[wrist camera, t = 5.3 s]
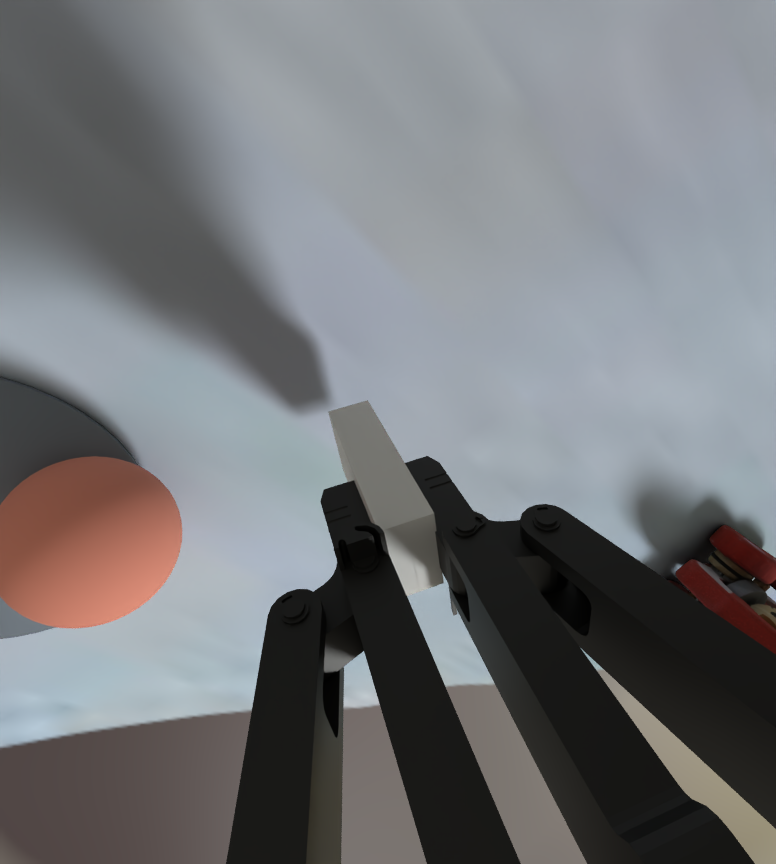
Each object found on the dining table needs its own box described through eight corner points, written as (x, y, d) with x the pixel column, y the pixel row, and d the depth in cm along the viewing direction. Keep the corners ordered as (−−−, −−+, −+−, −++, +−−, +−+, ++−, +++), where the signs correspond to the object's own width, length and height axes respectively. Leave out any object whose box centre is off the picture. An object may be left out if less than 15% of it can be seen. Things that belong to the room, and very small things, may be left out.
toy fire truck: (702, 507, 31) (886, 646, 23) (774, 555, 37) (940, 678, 29) (627, 583, 33) (771, 737, 24) (708, 617, 39) (845, 749, 31)
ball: (-58, 575, 11) (165, 456, 14) (-66, 490, 15) (111, 410, 18) (68, 701, 14) (231, 582, 17) (34, 604, 18) (173, 519, 21)
